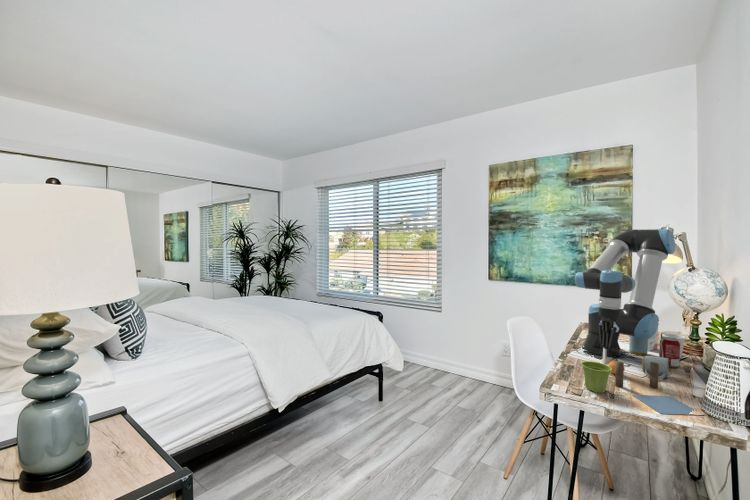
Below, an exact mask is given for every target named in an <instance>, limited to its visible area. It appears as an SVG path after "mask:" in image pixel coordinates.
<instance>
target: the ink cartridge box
mask: <svg viewBox="0 0 750 500" xmlns="http://www.w3.org/2000/svg"><path fill="white" fill-rule="evenodd" d="M658 343H659V327H658V328H657V331H656V333H655V334H654V335H653V336H652V337H651V338H648V352H649V351H654V350H658V345H659V344H658Z"/></svg>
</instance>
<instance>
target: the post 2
mask: <svg viewBox="0 0 750 500" xmlns="http://www.w3.org/2000/svg"><path fill="white" fill-rule="evenodd" d="M658 373H659V364H658V363H655V362H650V374H649V375H650V378H649V387H650V389H651V388H652V389H655V390H656V389H657V390H658V389H659V380H658V377H659V376H658Z"/></svg>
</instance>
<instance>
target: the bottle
mask: <svg viewBox="0 0 750 500" xmlns="http://www.w3.org/2000/svg"><path fill="white" fill-rule="evenodd" d="M628 344H629V350H628V351H629V352H630V353H631V354H633V355H638V356H647V355H648V352H649V351H648V339H645V338H637V337H634V336H629V343H628Z"/></svg>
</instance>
